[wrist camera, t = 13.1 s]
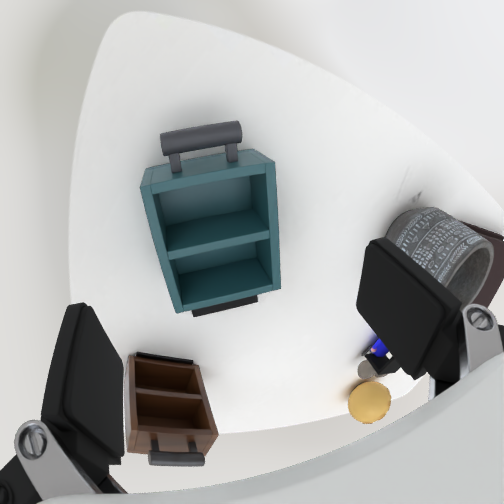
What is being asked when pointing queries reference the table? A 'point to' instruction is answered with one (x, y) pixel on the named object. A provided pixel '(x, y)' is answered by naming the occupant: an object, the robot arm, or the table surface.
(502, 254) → the book
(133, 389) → the walnut shelf
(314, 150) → the table surface
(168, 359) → the charcoal rectangular slab
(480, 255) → the planter
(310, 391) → the table surface
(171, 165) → the teal shelf
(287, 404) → the table surface
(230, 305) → the dark grey flat plate
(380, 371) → the figurine character
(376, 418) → the stress ball
